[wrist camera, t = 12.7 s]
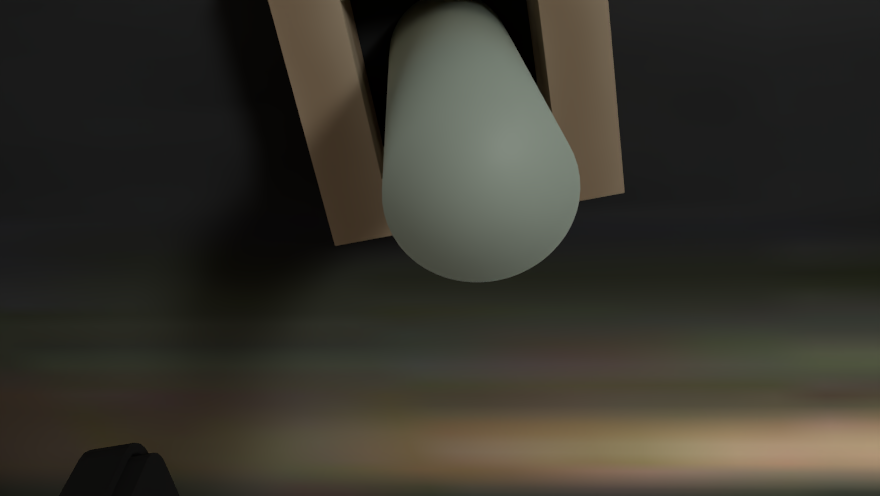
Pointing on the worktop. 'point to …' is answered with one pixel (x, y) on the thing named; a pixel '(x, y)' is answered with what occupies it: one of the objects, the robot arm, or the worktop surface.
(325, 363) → the worktop surface
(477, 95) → the dowel
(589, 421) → the worktop surface
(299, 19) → the tan rectangular frame
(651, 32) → the worktop surface
